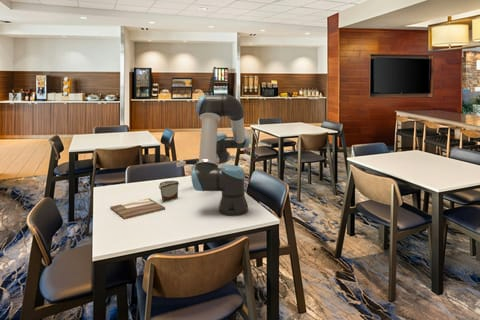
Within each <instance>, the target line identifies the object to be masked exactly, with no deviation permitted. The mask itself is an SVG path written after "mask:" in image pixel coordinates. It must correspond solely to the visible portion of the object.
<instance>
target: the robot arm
mask: <svg viewBox="0 0 480 320" xmlns="http://www.w3.org/2000/svg"><path fill="white" fill-rule="evenodd" d="M196 115H197V117H199V119H200V121H201V131H200V141H199V142H200V143H199V155H198V157H197V158H191V159H182V161H178V162H176V163H175V164H176V168H180V167H184V166H185V167H186V166H187V165H189V166H190V170H191V171H190V172H191V174H190V175H191V177H190V178H191V183H192V188H193V189H194V190H195V191H197V192H221V198H220V202H219V205H218V212H219V214H221V215H224V216H241V215H244V214H247V213H248V212H249V205H248V203H247V202H248V201H247V199H246V196H245V178H246V177H245V170H244V169H243V168H242V167H241V166H238V165H234V164H226V163H228V162H229V161H230V160H231V154H230V152H229V151H228V149H241V150H244V149H249V148H250V138H249V136H246V130H245V120H244V117H245V109H244V107H243V105H242V103H241V102H240V100H239V99H237V98H236V97H234V96H232V95H229V94H216V95H215V94H213V95H212V94H206V95H205V94H204V95H201V96H199V98H198V100H197V103H196ZM222 117H227V118H228V119H229V121H230V126H231V131H232V136H227V134H226V133H220V132H219V133H218V125H219V122H220V121H221V120H222V119H221V118H222ZM221 164H222V165H221ZM219 165H221V166H220V168H219Z"/></svg>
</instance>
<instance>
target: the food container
mask: <svg viewBox="0 0 480 320" xmlns="http://www.w3.org/2000/svg"><path fill="white" fill-rule="evenodd" d="M179 185H180V183H179V181H178V180H166V181H162V182H160V183H159V185H158V189H159V190H160V196H161V201H162V203H166V202H170V201H174V200H177V199H178V198H179Z"/></svg>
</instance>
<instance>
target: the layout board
mask: <svg viewBox="0 0 480 320" xmlns="http://www.w3.org/2000/svg"><path fill="white" fill-rule="evenodd" d="M109 209H110V210H111V211H113V212H114V213H115V214H117V215H118V216H119V217H120V218H122V219H123V220H127V219H131V218H136V217H140V216H144V215H148V214H151V213H152V214H153V213H155V212H159V211H160V212H161V211H164V210H166V206H164V205H162V204H160V203H158V202H157V201H155V200H153V199H151V198H144V199H140V200H134V201H131V202H126V203H121V204H118V205H112V206H110V207H109Z"/></svg>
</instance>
